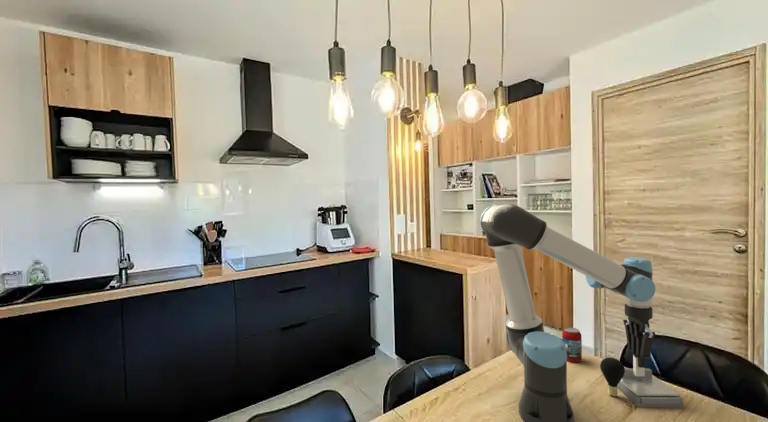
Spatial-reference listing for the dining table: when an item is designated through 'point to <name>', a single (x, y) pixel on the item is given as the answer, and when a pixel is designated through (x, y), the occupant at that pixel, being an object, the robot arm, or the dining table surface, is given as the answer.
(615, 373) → the light bulb
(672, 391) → the lid
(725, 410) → the dining table surface
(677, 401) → the holder
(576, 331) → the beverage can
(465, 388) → the dining table surface
